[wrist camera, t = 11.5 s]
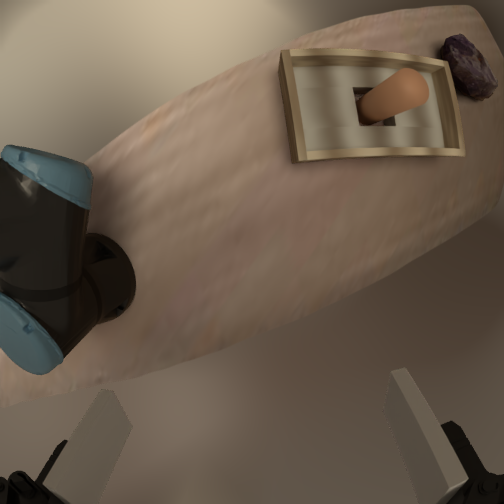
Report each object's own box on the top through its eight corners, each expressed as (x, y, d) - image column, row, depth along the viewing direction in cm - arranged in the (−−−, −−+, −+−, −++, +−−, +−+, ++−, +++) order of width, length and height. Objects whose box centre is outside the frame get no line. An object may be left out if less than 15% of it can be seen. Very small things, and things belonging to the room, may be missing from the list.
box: (291, 163, 39) (298, 160, 31) (277, 71, 35) (281, 50, 28) (436, 156, 37) (465, 156, 29) (422, 74, 34) (447, 61, 26)
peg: (354, 125, 37) (399, 104, 22) (350, 98, 36) (390, 66, 21) (380, 125, 37) (432, 107, 22) (376, 98, 36) (424, 70, 21)
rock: (448, 46, 32) (419, 60, 34) (469, 25, 24) (439, 37, 25) (487, 97, 33) (461, 117, 34) (512, 83, 24) (488, 102, 26)
